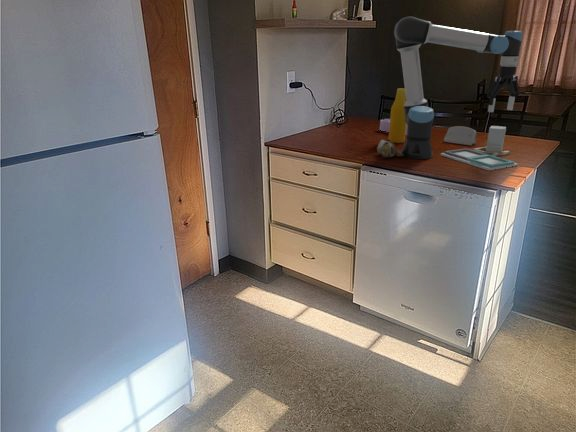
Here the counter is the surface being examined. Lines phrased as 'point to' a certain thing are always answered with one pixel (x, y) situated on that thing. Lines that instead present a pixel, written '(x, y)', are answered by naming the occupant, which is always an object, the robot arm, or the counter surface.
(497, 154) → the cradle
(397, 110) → the beer bottle
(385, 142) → the ceramic sculpture
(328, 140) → the counter surface
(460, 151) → the pocket plate
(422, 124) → the robot arm
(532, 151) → the counter surface
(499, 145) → the supplement box
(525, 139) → the counter surface
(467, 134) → the gray curved slotted casing
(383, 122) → the clip
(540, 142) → the counter surface
